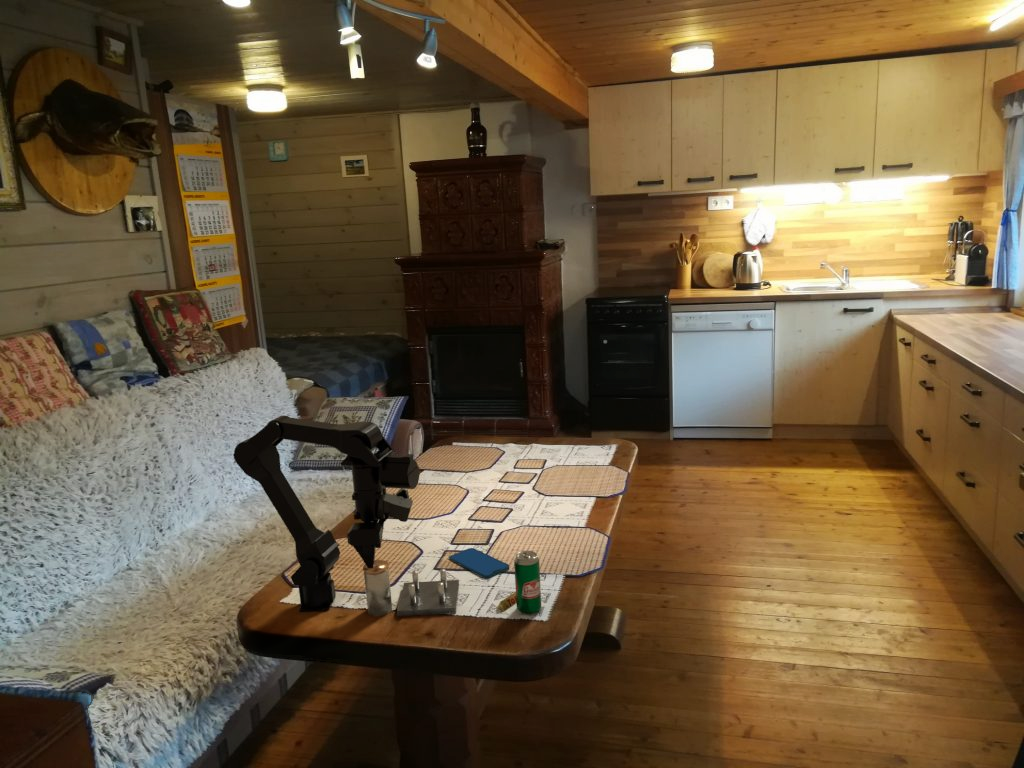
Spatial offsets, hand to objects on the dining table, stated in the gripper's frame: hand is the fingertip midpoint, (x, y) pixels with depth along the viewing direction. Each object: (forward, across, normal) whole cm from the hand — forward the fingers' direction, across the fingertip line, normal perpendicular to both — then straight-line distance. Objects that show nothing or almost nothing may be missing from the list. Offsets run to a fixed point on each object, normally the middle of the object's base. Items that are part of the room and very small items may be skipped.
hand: (374, 557), depth 156 cm
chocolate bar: (+12, +2, -29) cm, 32 cm away
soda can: (+12, -3, -31) cm, 33 cm away
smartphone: (+12, +19, -20) cm, 30 cm away
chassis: (+12, +3, -10) cm, 16 cm away
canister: (+12, 0, 0) cm, 12 cm away
